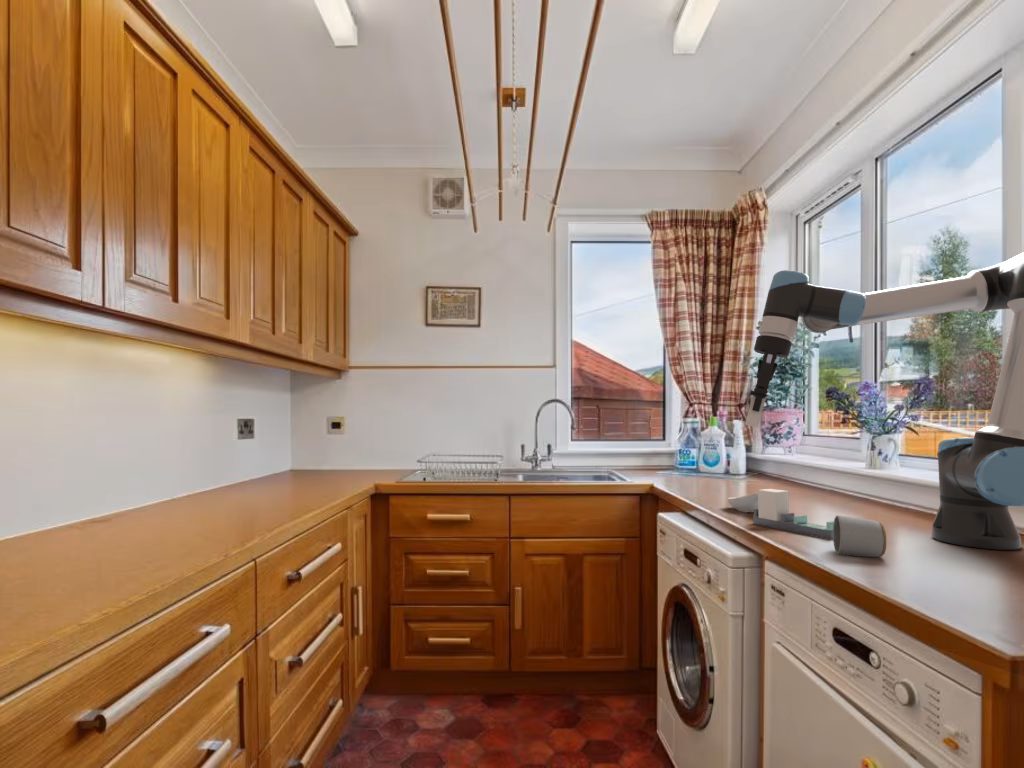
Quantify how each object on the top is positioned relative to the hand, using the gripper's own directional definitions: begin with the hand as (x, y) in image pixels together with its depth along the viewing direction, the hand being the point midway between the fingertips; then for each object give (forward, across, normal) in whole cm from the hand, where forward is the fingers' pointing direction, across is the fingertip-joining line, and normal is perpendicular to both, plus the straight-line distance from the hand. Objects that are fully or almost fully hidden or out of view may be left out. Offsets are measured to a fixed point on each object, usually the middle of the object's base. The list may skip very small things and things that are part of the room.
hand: (751, 426), depth 124 cm
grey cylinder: (+20, +6, +25) cm, 33 cm away
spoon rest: (+24, -33, +8) cm, 42 cm away
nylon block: (+21, -16, +10) cm, 29 cm away
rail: (+22, -13, +15) cm, 30 cm away
